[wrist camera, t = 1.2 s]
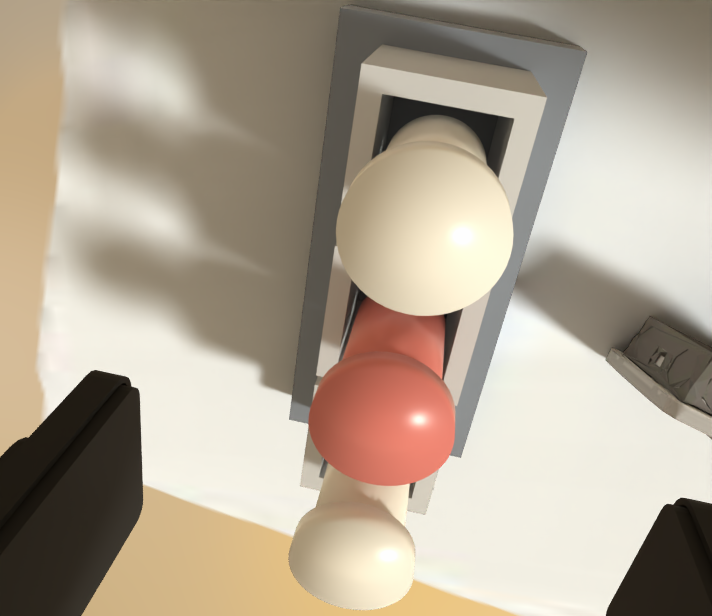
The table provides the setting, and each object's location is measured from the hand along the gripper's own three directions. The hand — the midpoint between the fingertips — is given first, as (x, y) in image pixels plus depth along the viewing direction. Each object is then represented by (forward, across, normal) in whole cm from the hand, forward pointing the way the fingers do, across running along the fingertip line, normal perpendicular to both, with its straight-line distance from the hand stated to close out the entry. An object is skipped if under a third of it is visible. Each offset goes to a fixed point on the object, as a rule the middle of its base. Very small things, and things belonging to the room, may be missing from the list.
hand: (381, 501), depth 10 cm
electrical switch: (+28, -18, +11) cm, 35 cm away
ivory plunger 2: (+19, 0, 0) cm, 19 cm away
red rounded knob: (+19, 0, +8) cm, 21 cm away
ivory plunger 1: (+19, 0, +16) cm, 25 cm away
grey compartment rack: (+28, 0, +8) cm, 29 cm away
